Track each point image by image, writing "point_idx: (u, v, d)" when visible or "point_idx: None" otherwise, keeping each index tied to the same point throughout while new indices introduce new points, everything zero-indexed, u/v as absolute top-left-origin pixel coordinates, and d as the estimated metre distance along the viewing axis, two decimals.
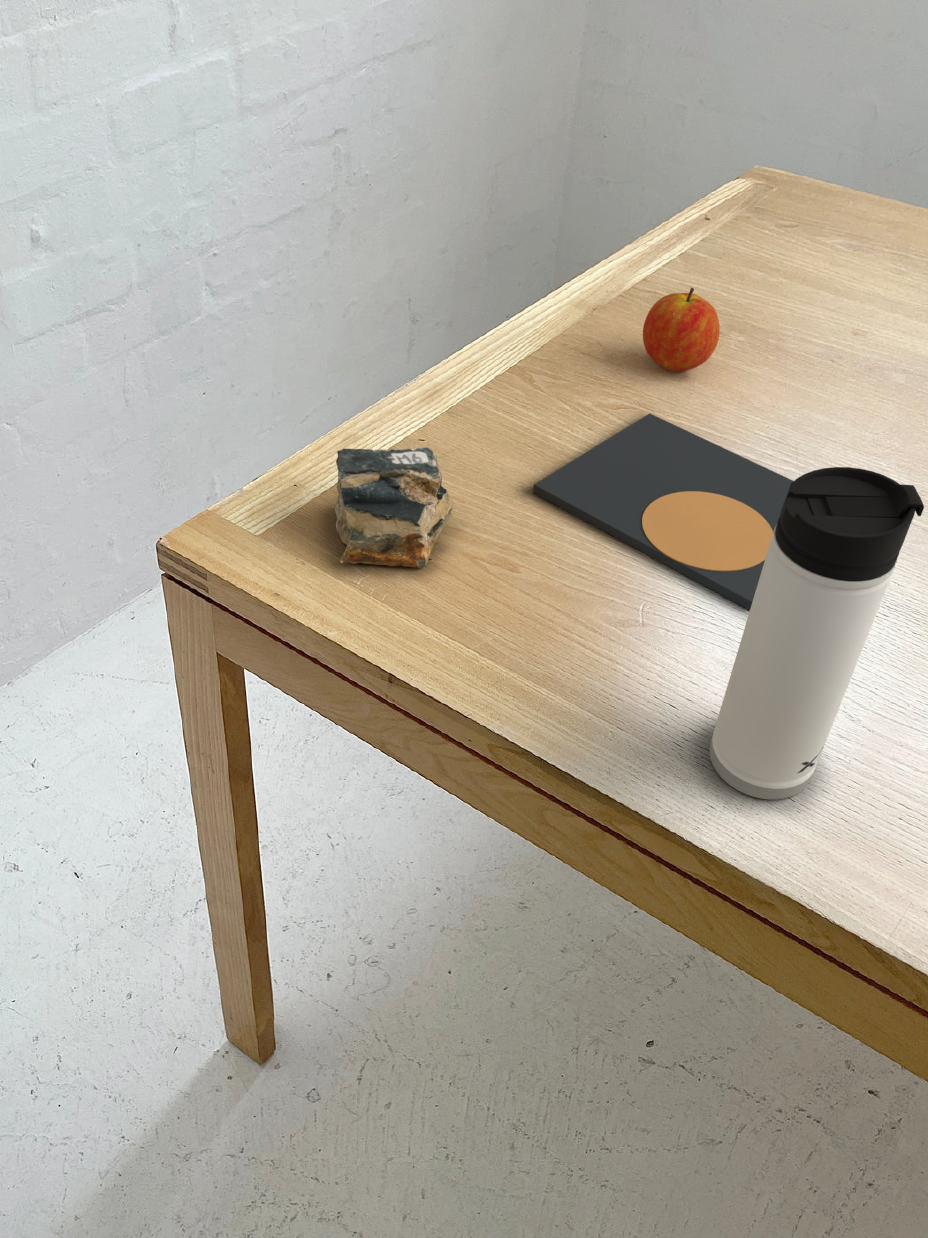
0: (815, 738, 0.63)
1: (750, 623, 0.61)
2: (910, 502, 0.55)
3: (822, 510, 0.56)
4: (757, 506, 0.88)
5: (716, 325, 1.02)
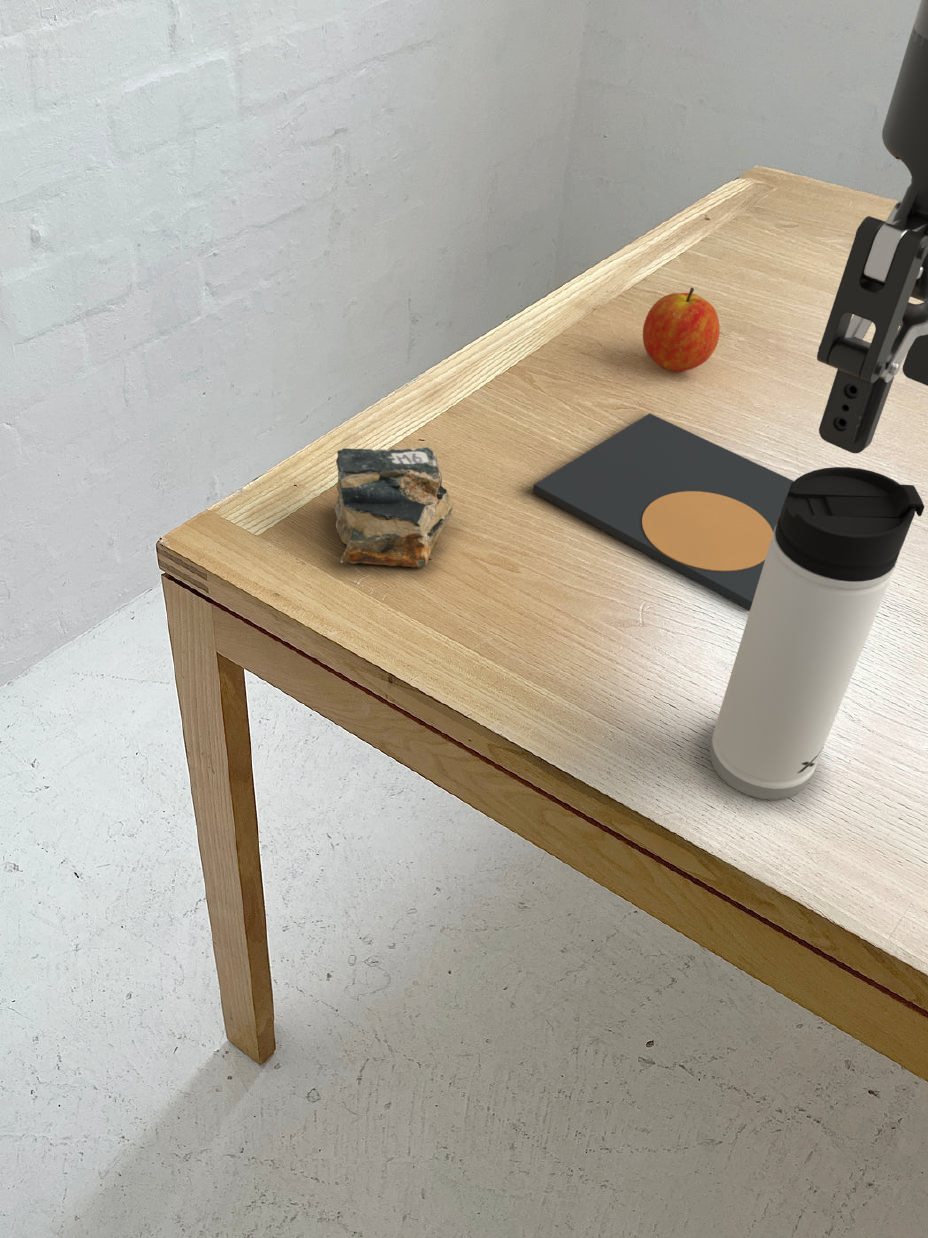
0: (815, 738, 0.63)
1: (750, 623, 0.61)
2: (910, 502, 0.55)
3: (822, 510, 0.56)
4: (757, 506, 0.88)
5: (716, 325, 1.02)
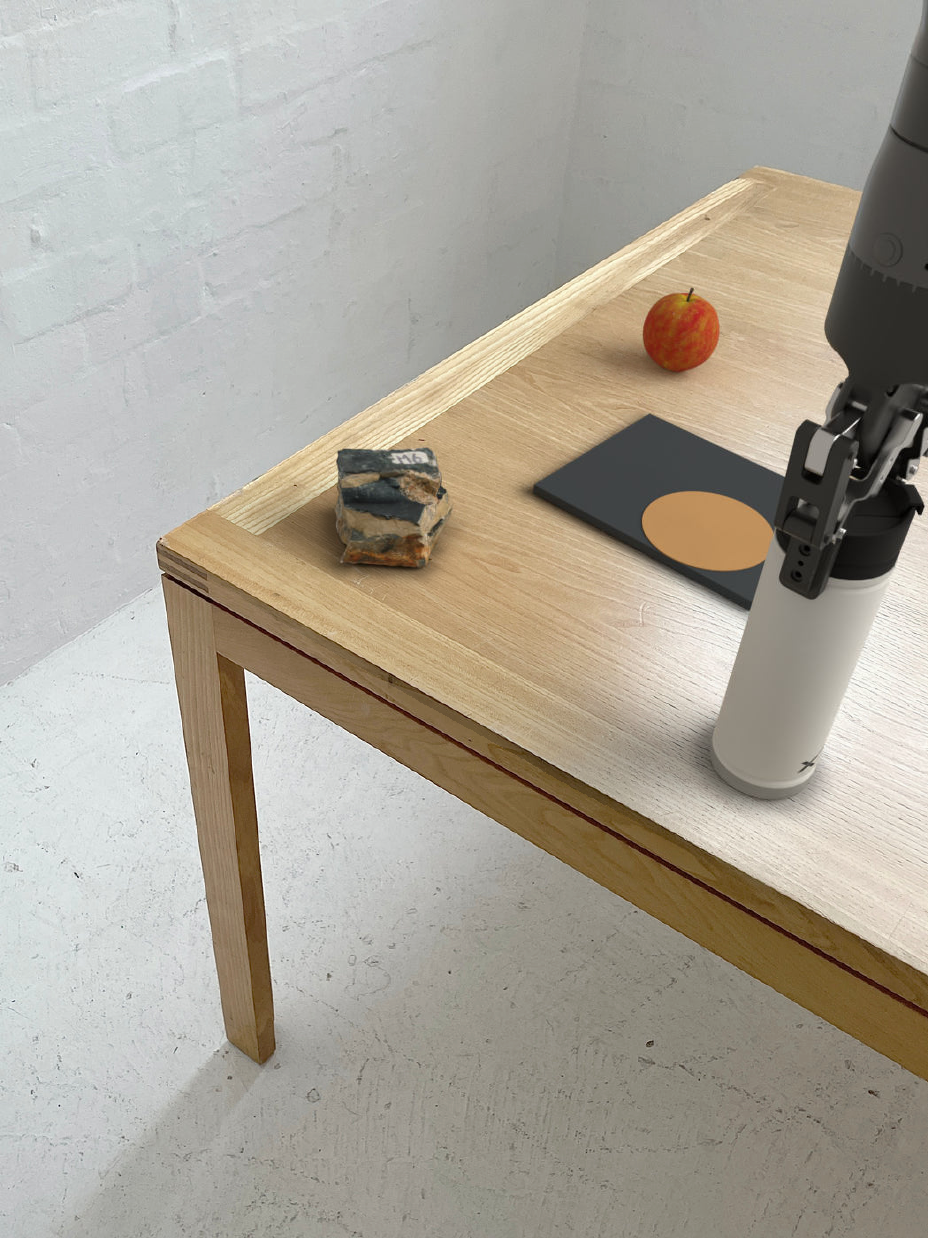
0: (815, 737, 0.63)
1: (750, 623, 0.61)
2: (911, 501, 0.55)
3: None
4: (757, 506, 0.88)
5: (716, 325, 1.02)
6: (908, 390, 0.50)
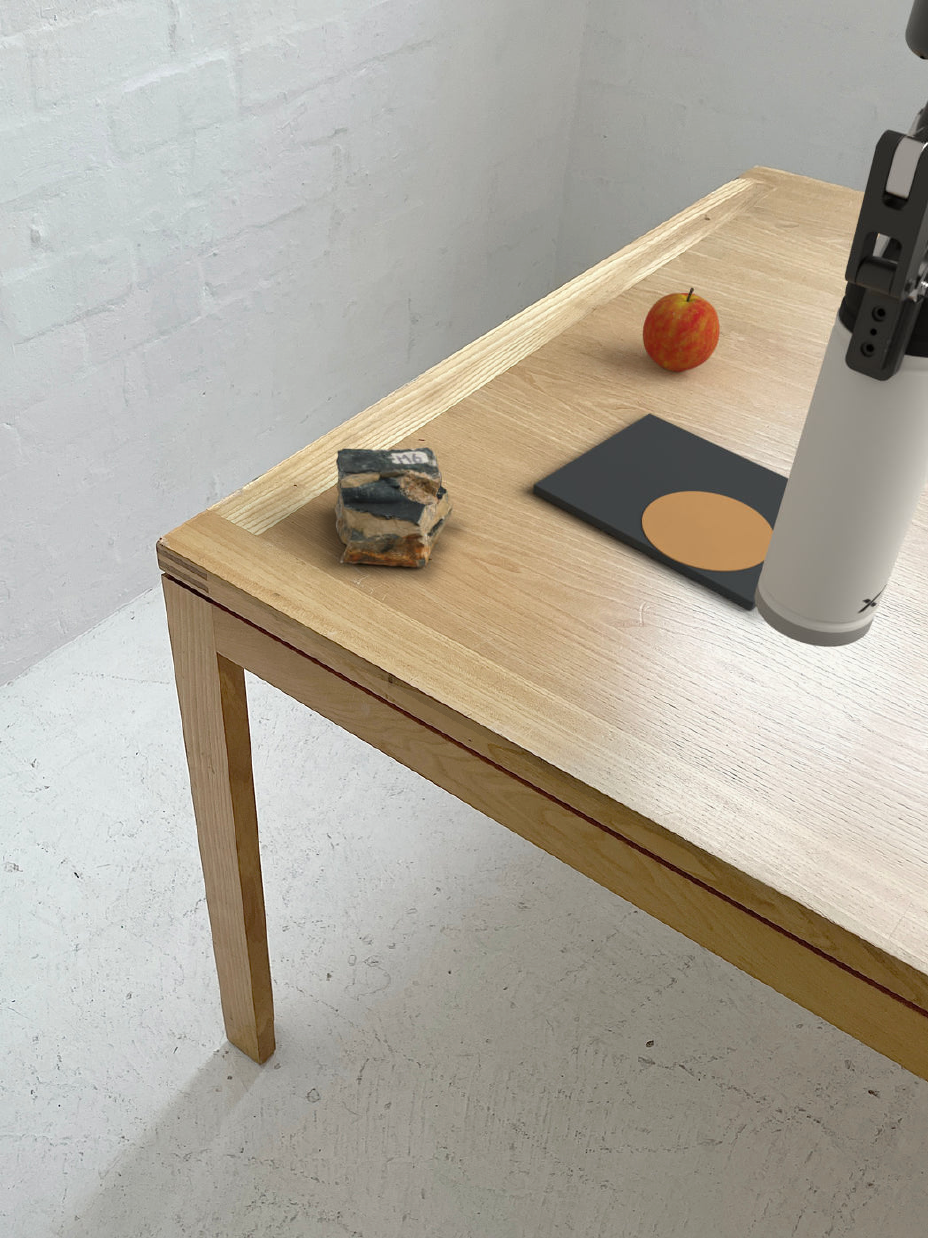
0: (880, 567, 0.56)
1: (807, 431, 0.54)
2: None
3: None
4: (757, 506, 0.88)
5: (716, 325, 1.02)
6: None
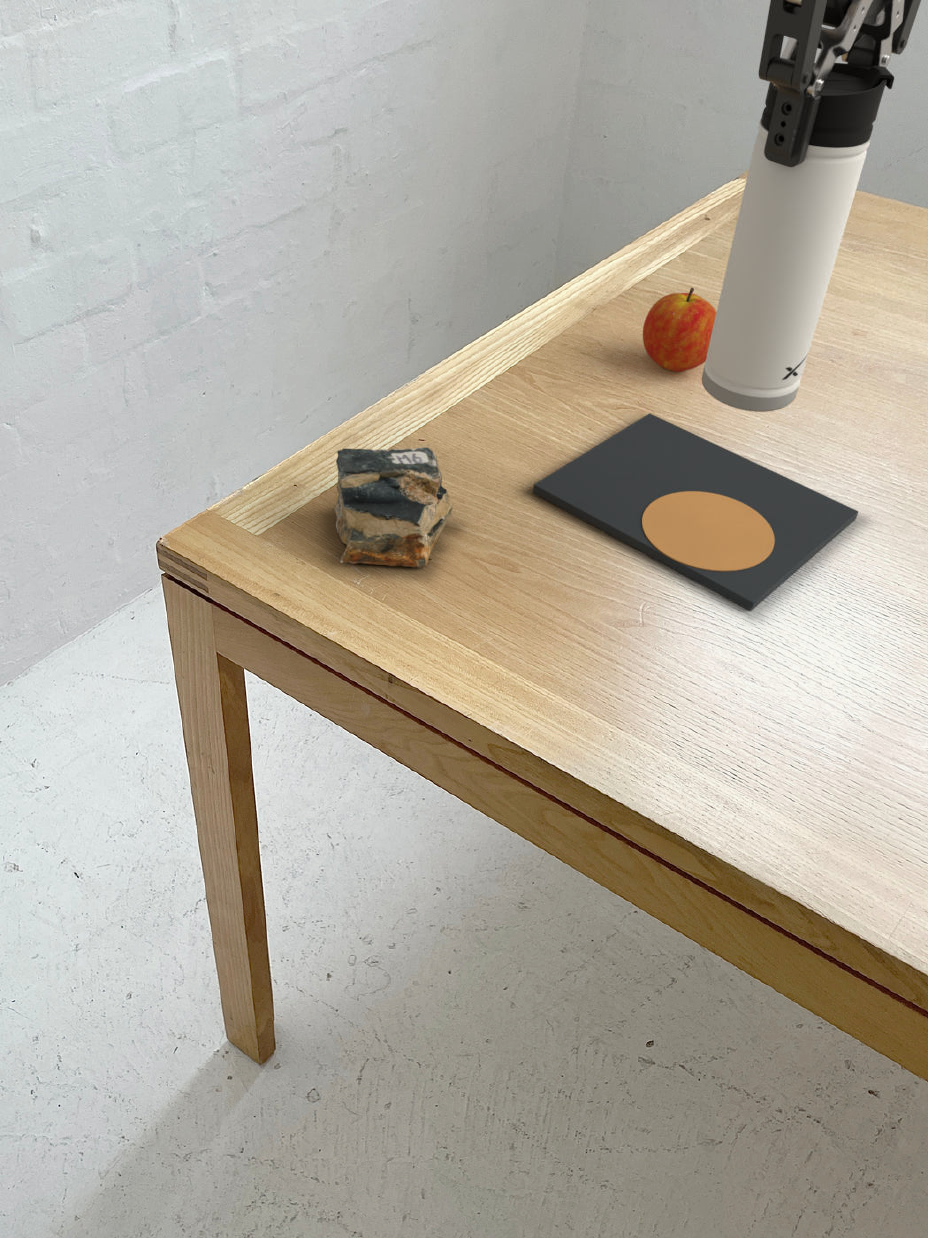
0: (798, 338, 0.70)
1: (738, 222, 0.68)
2: (882, 73, 0.62)
3: None
4: (757, 506, 0.88)
5: None
6: None
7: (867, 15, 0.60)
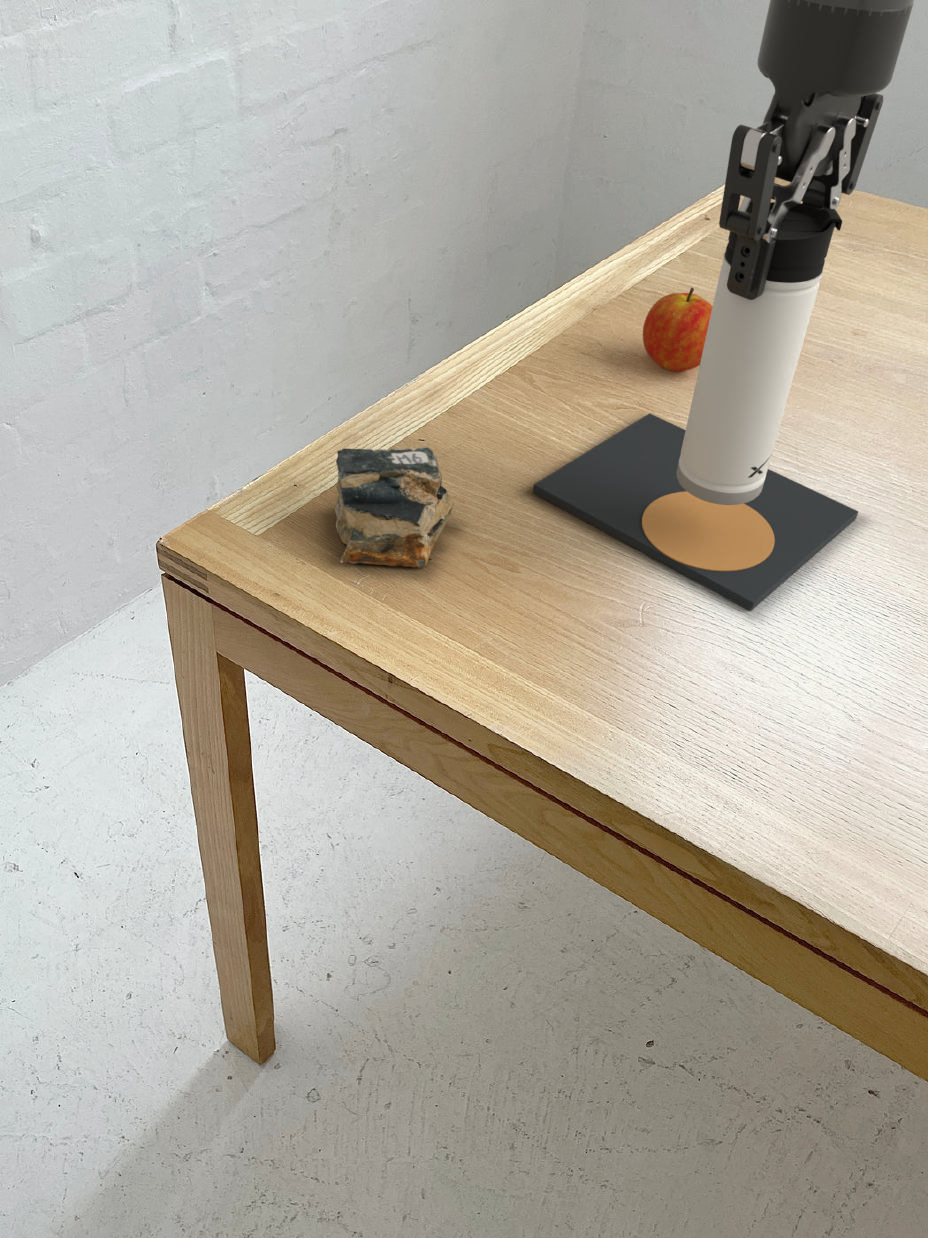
0: (761, 442, 0.77)
1: (706, 340, 0.75)
2: (831, 217, 0.69)
3: None
4: (757, 506, 0.88)
5: None
6: (823, 108, 0.64)
7: (816, 170, 0.67)
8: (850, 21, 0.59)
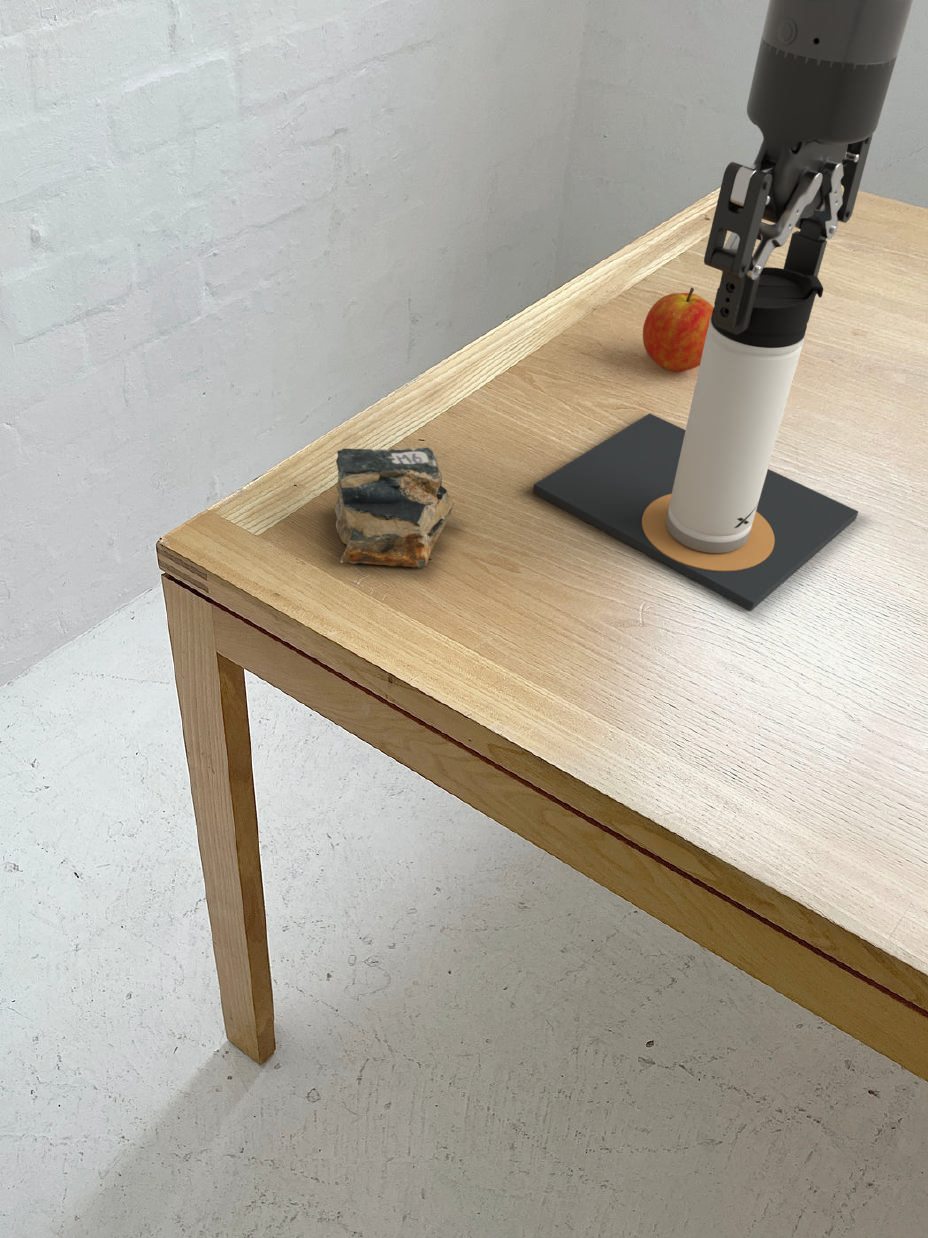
0: (747, 494, 0.80)
1: (694, 398, 0.78)
2: (812, 285, 0.72)
3: None
4: (757, 506, 0.88)
5: None
6: (810, 154, 0.66)
7: (804, 212, 0.69)
8: (836, 74, 0.61)
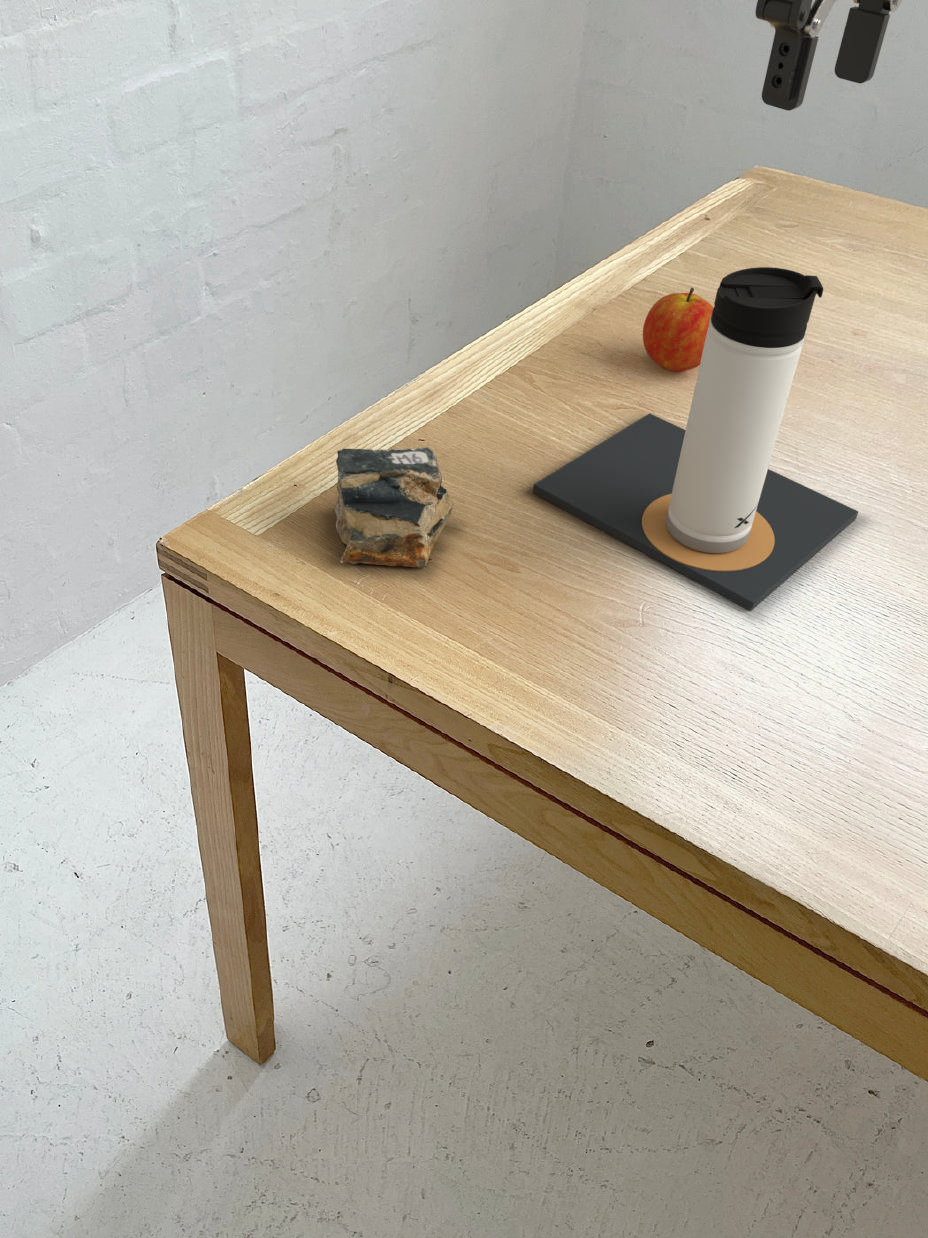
0: (747, 494, 0.80)
1: (694, 398, 0.78)
2: (812, 285, 0.72)
3: (745, 295, 0.73)
4: (757, 506, 0.88)
5: None
6: None
7: None
8: None
